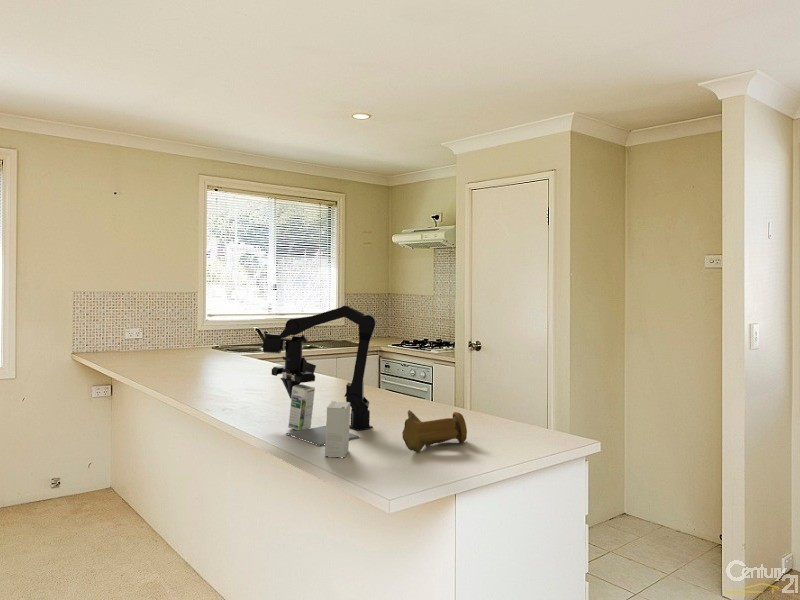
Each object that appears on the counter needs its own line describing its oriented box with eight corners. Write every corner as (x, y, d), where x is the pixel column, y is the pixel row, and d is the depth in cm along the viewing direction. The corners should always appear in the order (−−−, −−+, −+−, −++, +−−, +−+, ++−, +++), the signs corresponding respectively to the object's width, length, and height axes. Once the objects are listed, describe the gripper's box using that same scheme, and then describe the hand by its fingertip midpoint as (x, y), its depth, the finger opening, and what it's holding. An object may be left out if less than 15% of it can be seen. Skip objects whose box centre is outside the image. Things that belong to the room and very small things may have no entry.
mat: (359, 437, 191) (359, 435, 191) (319, 446, 180) (319, 444, 180) (325, 427, 204) (325, 425, 204) (286, 434, 193) (286, 433, 193)
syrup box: (287, 427, 200) (291, 386, 199) (298, 423, 205) (302, 383, 204) (301, 431, 197) (305, 389, 196) (311, 427, 203) (315, 386, 201)
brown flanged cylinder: (389, 415, 192) (454, 403, 196) (397, 456, 189) (462, 443, 193) (397, 410, 174) (468, 396, 178) (406, 454, 171) (477, 439, 175)
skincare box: (329, 449, 177) (330, 400, 176) (349, 450, 176) (350, 401, 176) (324, 458, 168) (325, 406, 168) (345, 458, 168) (346, 407, 168)
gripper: (328, 356, 203) (326, 400, 204) (297, 349, 216) (296, 391, 217) (301, 358, 195) (300, 404, 196) (271, 351, 209) (269, 395, 209)
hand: (292, 398), depth 205 cm, fingers closed
